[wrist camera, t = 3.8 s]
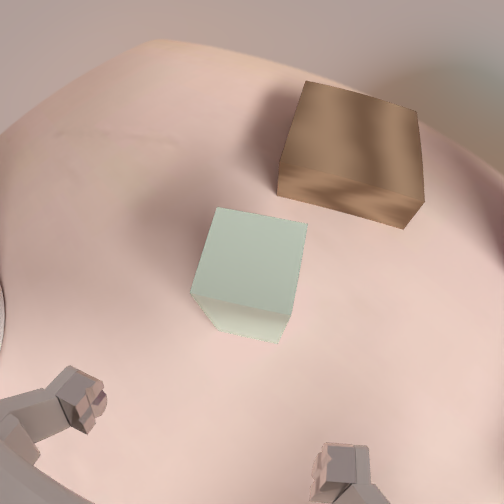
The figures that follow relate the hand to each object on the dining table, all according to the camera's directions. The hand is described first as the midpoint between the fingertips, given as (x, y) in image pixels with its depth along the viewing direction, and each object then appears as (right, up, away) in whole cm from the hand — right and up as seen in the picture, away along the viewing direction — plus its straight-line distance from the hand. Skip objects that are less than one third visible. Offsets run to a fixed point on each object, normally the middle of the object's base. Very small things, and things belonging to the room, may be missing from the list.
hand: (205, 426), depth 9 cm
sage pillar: (+2, +2, +14) cm, 14 cm away
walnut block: (+11, +15, +20) cm, 27 cm away
